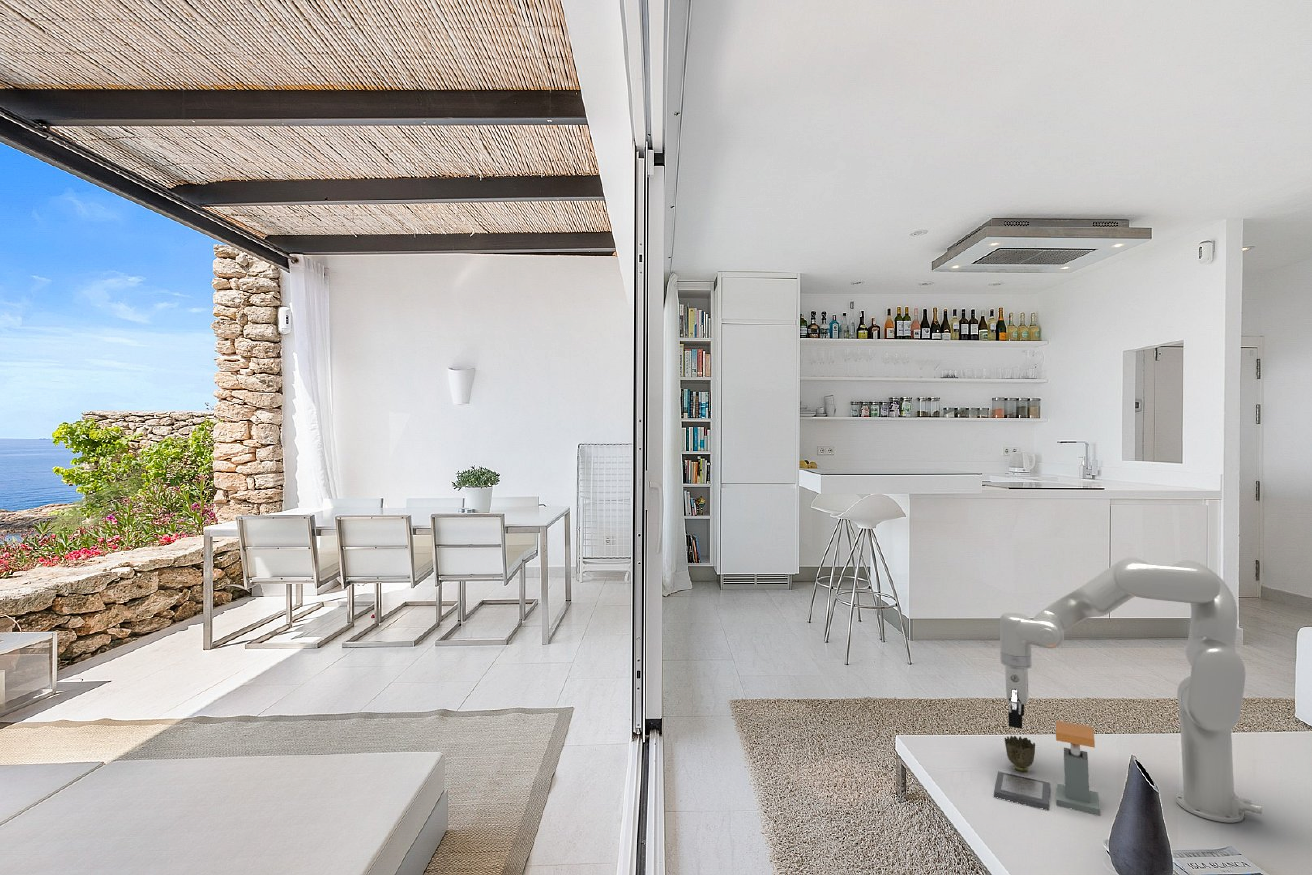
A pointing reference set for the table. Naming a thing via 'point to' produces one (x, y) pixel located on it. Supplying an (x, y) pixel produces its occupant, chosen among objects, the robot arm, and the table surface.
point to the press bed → (1022, 790)
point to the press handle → (1075, 736)
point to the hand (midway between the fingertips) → (1016, 720)
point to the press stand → (1077, 785)
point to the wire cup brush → (1020, 752)
